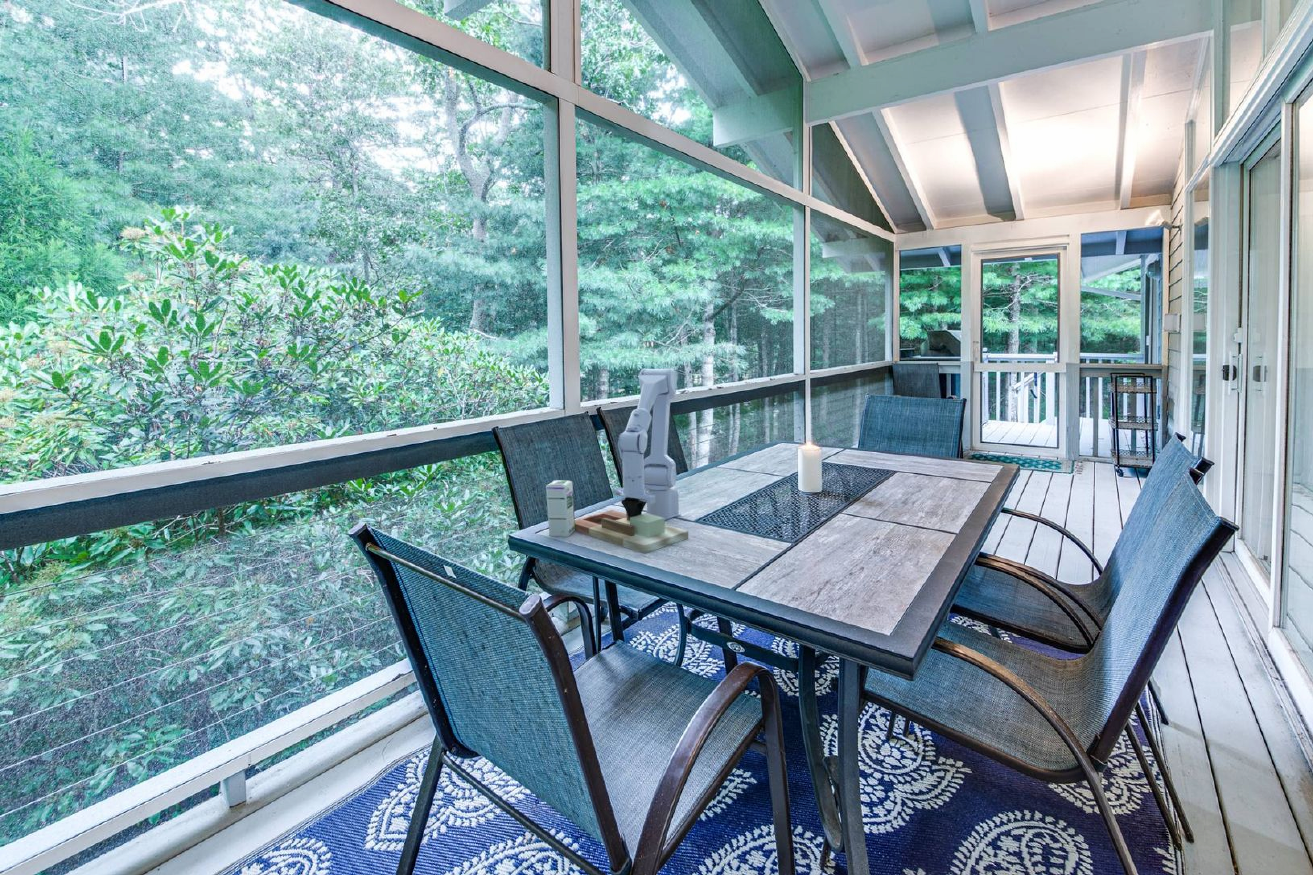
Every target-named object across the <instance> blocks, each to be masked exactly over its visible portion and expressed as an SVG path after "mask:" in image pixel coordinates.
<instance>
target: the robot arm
mask: <svg viewBox="0 0 1313 875" xmlns="http://www.w3.org/2000/svg"><path fill="white" fill-rule="evenodd" d="M677 380H678V378H677V374H676V371H675V370H674V369H673V368H641V370H640V371H639V375H638V383H639V388H640V390H641V391H640V394H639V399H638V403H637V407H636V408H635V409H633V410H632V412H630V417H629V419H628V421H627V425H626V427H625V430H624V431H622V433H620V434H619V435H618V439H617V440H618V442H617V448H618V451H619V458H620V459H621V463H622V487H618V486H617V487H613V496H616V497H617V496H620V497H621V498H624V499H622V500H621V504H622V506H623V508H624V510H625V511H626V512H627V515H628V518H629V521H630V518H631V517H634V516H637V515H641V514H643V510H644V508H645V506H646V513H648V514H652V515H656V516H659V517H663V518H664V521H666V520H669V519H672V518H676V517H678V516H681V513H680V512H679V511H680V510H679V509H680V508H679V505H680V503H679V500H680V499H679V491H678V490H677V487H676V486H675V485H676V482H677V470H676V469H677V468H676V467H677V465H676V462H675V460H674V459H672V458H671V457H670V456H669V455H668V446H669V444H668V443H669V442H668V441H669V428H670V427H669V426H670V410H671V407H670V406H671V400H672V399H674V398H676V393H677ZM651 410H652V411H653V412H652V415H651V413H650V412H651ZM651 421H652V427H651V441H650V455H649V456H647V457H645V458H644V454H645V452H646V450H647V447H648V438H649V436H648V430H649V428H650V425H651ZM664 465H665V466H664ZM645 490H646V491H645Z"/></svg>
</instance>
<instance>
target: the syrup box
mask: <svg viewBox="0 0 1313 875" xmlns="http://www.w3.org/2000/svg"><path fill="white" fill-rule="evenodd" d="M573 485H574V484H573V481H572V480H567V479H563V480H562V479H561V480H560V479H559V480H552V482H550V483H549V484H546V485H545V489H546V490H545V491H546V493H545V494H546V502H547V503H546V506H547V520H548V521H547V522H548V535H549V536H550V537H569V536H571V535H572V534H573V533H574V532H576V531H575V520H576V519H575V505H574V489H573V488H574V487H573Z"/></svg>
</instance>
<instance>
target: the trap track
mask: <svg viewBox="0 0 1313 875" xmlns="http://www.w3.org/2000/svg"><path fill="white" fill-rule="evenodd" d="M574 532H579V533H581V534H585V535H587V536H591V537H594V538H596V539H600V540H603V541H605V540H606V542H609V543H611V544H615V545H619V546H621V547H624V548H626V549H627V548H628V549H630V550H634V551H636V552H638V553H642V554H647V552H648V553H650V552H653V551H656V550H658V549H662V548H665V547H667V546H670V545H673V544H675V543H678V542H682V541H684V540H687V539H689V530H686V529H682V528H678V527H675V526H671V525H669V524H665V533H662V534H659V535H656V536H652V537H649V538H647V537H644V536H641V535H637V534H634V526H632V525H630V521H629V518H628V515H627V512H626V513H623V512H620V511H617V510H613V509H611V510H608V511H603V512H600V513H596V514H593V515H589V516H586V517H581V518H578V519H575V531H574Z"/></svg>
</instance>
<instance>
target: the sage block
mask: <svg viewBox="0 0 1313 875" xmlns="http://www.w3.org/2000/svg"><path fill="white" fill-rule="evenodd" d="M665 521H666V520H664V518H663V517H659V516H656V515H652V514H648V513H647V512H646V513H641V515H637V516H634V517H631V518H630V525H632V526H634V534H637V535H641V536H644V537H647V538H649V537H652V536H656V535H659V534H662V533H665V525H666V523H665Z"/></svg>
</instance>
